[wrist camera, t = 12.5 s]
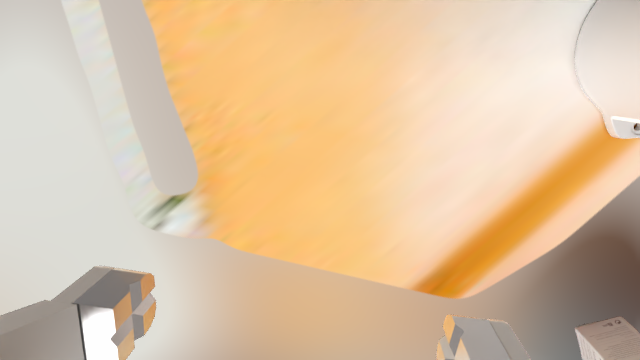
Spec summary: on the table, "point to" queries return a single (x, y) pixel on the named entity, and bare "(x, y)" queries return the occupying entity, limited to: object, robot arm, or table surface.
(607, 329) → the skincare box
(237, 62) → the table surface
